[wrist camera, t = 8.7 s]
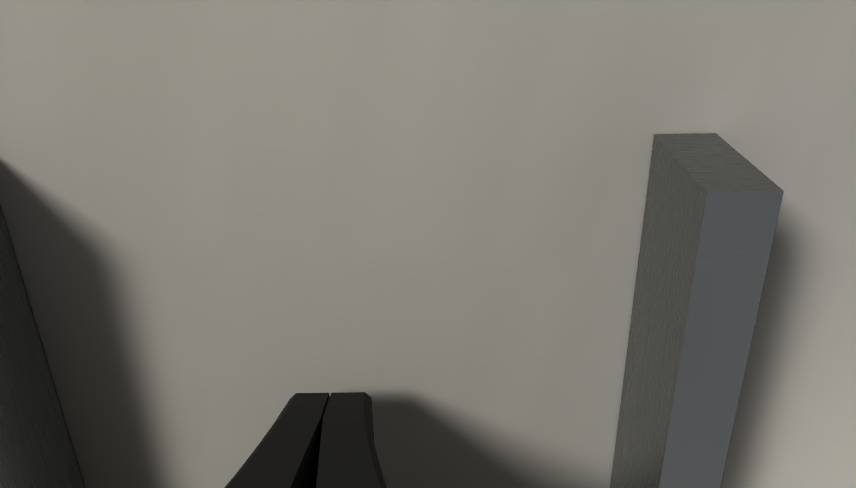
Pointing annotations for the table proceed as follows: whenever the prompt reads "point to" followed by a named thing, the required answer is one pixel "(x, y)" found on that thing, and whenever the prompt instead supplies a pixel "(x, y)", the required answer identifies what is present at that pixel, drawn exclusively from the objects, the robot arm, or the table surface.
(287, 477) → the robot arm
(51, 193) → the table surface
